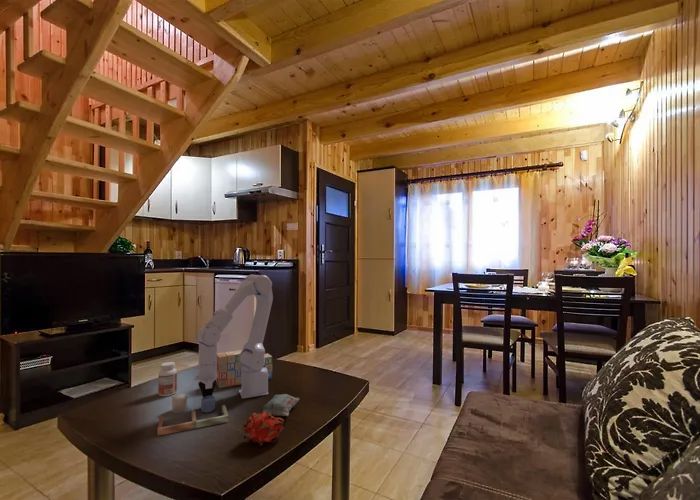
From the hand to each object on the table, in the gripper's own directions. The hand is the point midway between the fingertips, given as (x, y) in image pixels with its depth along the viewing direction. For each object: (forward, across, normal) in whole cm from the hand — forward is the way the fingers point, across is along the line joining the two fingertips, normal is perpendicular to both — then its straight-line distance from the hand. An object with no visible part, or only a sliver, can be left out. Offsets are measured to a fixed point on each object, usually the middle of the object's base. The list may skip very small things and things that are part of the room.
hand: (207, 403), depth 117 cm
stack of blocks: (+1, -20, +16) cm, 26 cm away
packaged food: (+1, +16, +22) cm, 27 cm away
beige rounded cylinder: (+1, -1, -8) cm, 9 cm away
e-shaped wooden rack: (+1, +10, -4) cm, 11 cm away
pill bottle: (+1, -19, -13) cm, 23 cm away
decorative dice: (+1, +3, 0) cm, 3 cm away
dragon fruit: (+1, +31, +13) cm, 34 cm away
